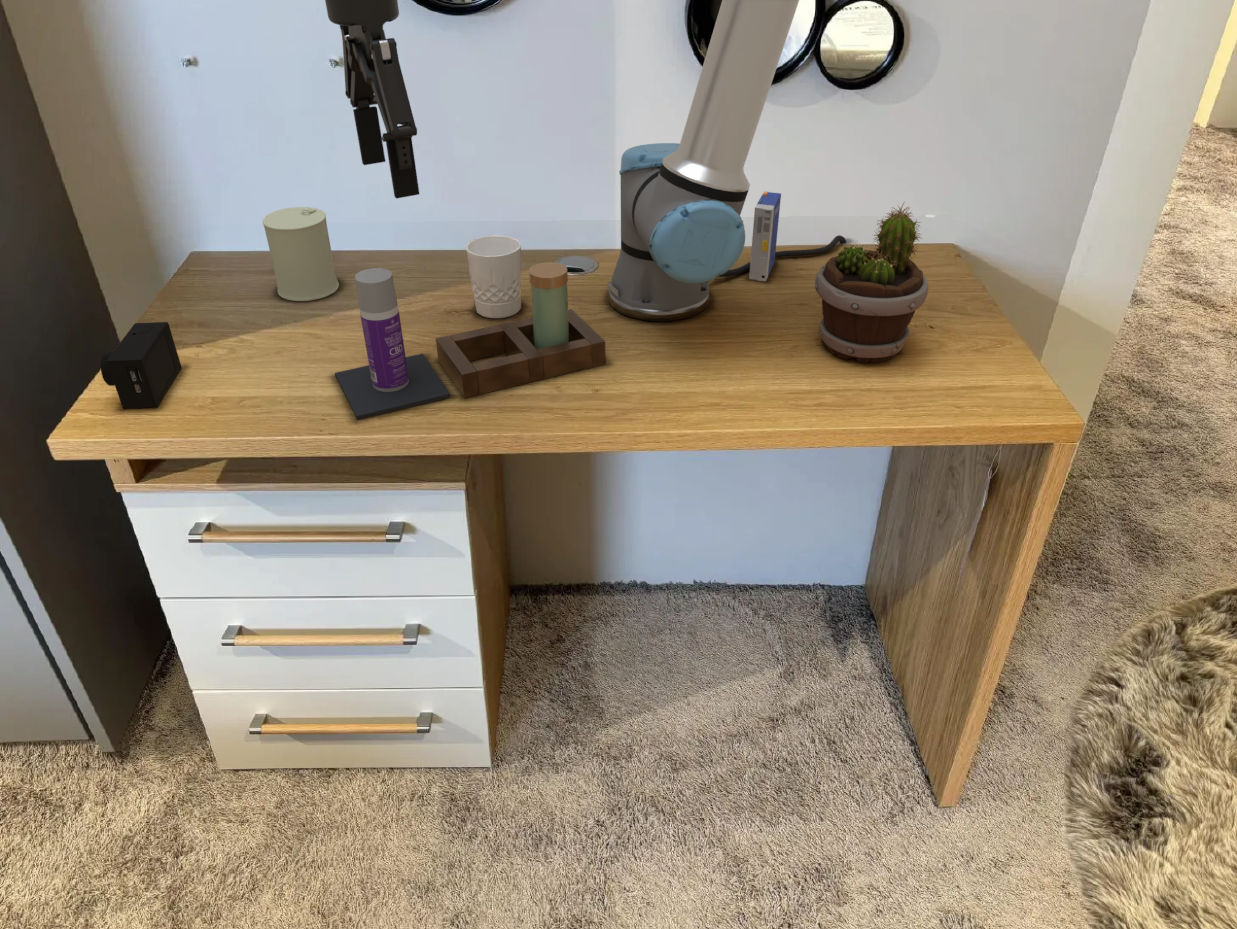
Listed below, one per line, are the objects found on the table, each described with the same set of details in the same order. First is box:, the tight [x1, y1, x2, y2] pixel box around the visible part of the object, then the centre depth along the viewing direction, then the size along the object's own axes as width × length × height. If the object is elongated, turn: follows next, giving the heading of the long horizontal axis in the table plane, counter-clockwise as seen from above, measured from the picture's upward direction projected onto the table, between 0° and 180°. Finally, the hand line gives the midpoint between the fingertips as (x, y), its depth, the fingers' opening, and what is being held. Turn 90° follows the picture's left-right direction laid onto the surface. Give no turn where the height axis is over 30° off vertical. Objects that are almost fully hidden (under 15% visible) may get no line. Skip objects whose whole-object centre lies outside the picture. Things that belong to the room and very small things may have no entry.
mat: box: [334, 353, 451, 420], centre depth 124 cm, size 12×12×1 cm
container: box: [354, 267, 409, 392], centre depth 120 cm, size 5×5×15 cm
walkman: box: [748, 191, 782, 282], centre depth 151 cm, size 8×3×12 cm, turn 162°
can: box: [262, 206, 340, 302], centre depth 146 cm, size 9×9×12 cm
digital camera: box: [100, 321, 183, 410], centre depth 122 cm, size 10×5×7 cm, turn 4°
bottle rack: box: [435, 308, 606, 399], centre depth 129 cm, size 20×11×4 cm, turn 116°
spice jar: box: [528, 261, 569, 349], centre depth 128 cm, size 5×5×13 cm
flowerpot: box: [814, 202, 929, 364], centre depth 127 cm, size 14×15×20 cm
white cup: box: [465, 234, 522, 319], centre depth 140 cm, size 8×8×10 cm
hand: (389, 178), depth 114 cm, fingers open, 13 cm apart
